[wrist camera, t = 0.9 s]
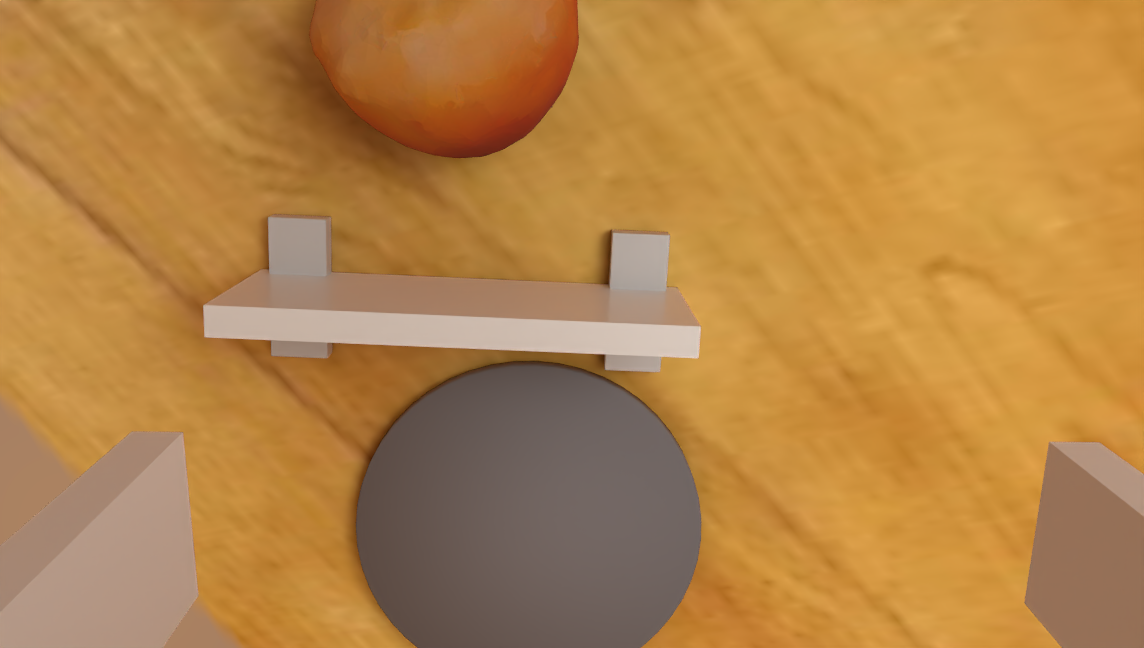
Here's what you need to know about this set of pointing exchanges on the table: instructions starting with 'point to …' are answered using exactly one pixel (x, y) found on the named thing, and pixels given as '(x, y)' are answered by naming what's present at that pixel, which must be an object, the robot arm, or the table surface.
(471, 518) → the mat
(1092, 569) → the robot arm
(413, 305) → the wall
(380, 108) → the fruit
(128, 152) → the table surface
